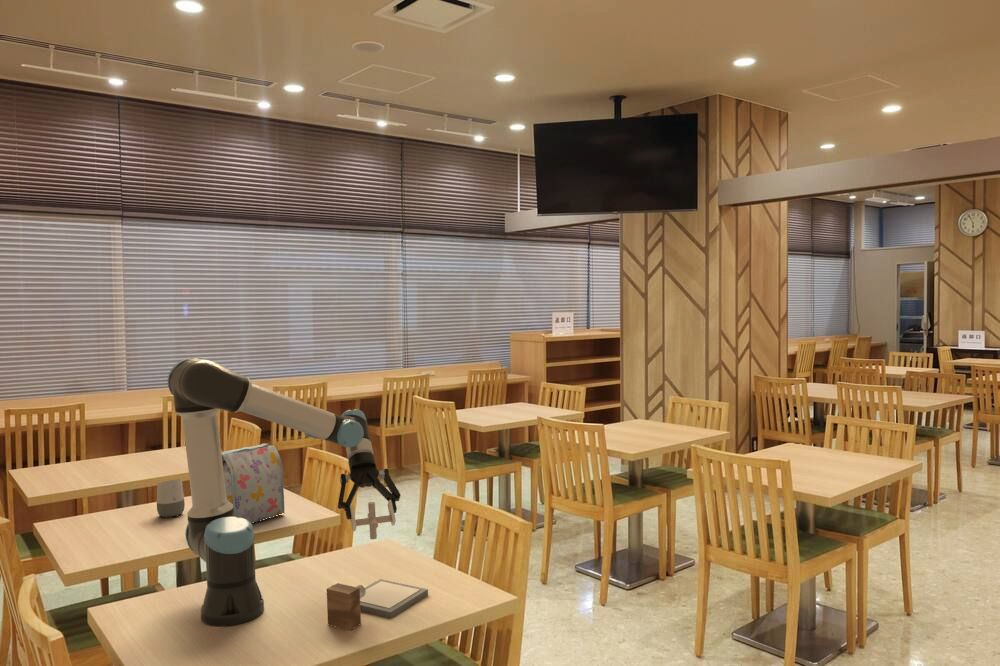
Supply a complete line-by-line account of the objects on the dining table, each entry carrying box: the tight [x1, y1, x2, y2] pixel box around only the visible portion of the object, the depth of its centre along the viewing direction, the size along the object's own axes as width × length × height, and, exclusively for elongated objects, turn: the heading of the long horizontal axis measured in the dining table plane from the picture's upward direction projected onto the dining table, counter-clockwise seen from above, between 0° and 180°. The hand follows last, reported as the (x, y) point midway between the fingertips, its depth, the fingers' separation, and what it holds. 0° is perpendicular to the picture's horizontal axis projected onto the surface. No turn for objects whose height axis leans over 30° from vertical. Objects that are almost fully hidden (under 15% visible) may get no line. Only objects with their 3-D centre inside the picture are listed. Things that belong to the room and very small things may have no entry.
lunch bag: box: [221, 443, 285, 524], centre depth 273 cm, size 22×17×26 cm
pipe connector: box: [355, 501, 391, 540], centre depth 209 cm, size 10×10×10 cm
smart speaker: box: [156, 478, 186, 518], centre depth 281 cm, size 10×9×14 cm
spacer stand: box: [326, 578, 429, 631], centre depth 194 cm, size 26×16×9 cm, turn 150°
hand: (374, 525), depth 207 cm, fingers closed on pipe connector, 10 cm apart
